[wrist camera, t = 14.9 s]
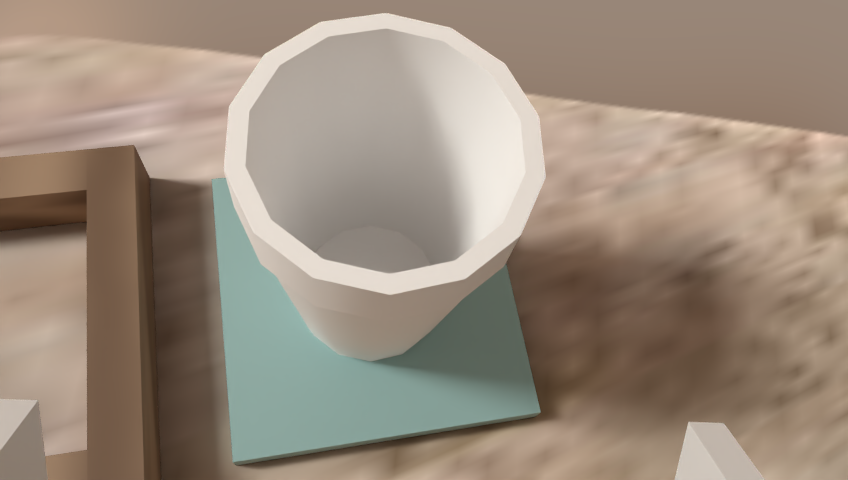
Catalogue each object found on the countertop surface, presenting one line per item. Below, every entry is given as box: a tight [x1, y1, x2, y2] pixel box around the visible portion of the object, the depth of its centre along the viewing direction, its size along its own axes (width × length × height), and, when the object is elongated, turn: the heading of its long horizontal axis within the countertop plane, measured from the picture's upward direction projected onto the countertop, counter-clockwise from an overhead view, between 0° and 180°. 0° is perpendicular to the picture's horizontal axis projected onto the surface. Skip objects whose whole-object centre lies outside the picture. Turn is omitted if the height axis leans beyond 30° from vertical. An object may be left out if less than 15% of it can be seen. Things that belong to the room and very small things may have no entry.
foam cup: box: [224, 13, 546, 362], centre depth 28 cm, size 10×9×13 cm
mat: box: [212, 178, 541, 465], centre depth 34 cm, size 13×13×1 cm
